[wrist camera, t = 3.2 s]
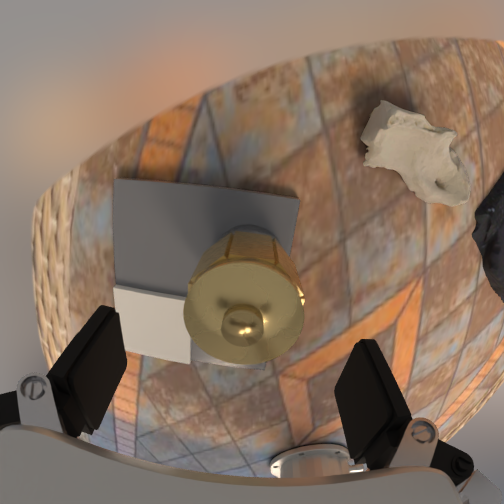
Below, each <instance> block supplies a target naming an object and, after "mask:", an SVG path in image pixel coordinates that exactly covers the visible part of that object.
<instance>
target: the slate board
mask: <svg viewBox="0 0 504 504" xmlns="http://www.w3.org/2000/svg"><path fill="white" fill-rule="evenodd" d="M299 204H300V199H299V198H297V197H291V196H285V195H278V194H272V193H265V192H258V191H251V190H243V189H236V188H228V187H220V186H211V185H203V184H193V183H183V182H173V181H162V180H149V179H136V178H116V179H114V193H113V240H114V263H115V278H116V285H121V286H127V287H132V288H137V289H142V290H148V291H153V292H159V293H164V294H170V295H176V296H182V297H187V295H188V283H189V281H190V279H191V277H192V275H193V273H194V271H195V269H196V267H197V265H198V263H199V261H200V259H201V257H202V255H203V253H204V252H205V251H206V250H207V249H209V248H210V247H211V246H213V245H214V244H215V243H216V242H217V241H218V239H219V238H220V237H221V236H222V235H223V234H224V233H225V232H226V231H228V230H229V229H231V228H234V227H236V226H240V225H256V226H259V227H262V228H265V229H267V230H268V231H270V232H271V233H272V234H273V235H275V236H276V238H277V239H278V240H279V242H280V243H281V245H282V248H283V249H284V251H285V252H286V253H287V255H288V256H289V257H290V252H291V247H292V241H293V236H294V231H295V226H296V220H297V215H298V210H299ZM191 360H192V361H198V362H204V363H210V364H217V365H224V366H232V367H240V368H248V369H257V370H265V366H266V362H263V363H259V364H252V365H240V364H232V363H228V362H224V361H221V360H219V359H216V358H214V357H212V356H210V355H209V354H207V353H206V352H204V351H203V350H202V349H201V348H199V347H198V346H197V344H196V343H195V342H194V341H193V340H192V338H191Z"/></svg>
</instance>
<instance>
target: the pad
mask: <svg viewBox="0 0 504 504" xmlns="http://www.w3.org/2000/svg"><path fill="white" fill-rule="evenodd" d="M113 291H114V301H115V309H116V312H118V313H119V316H120V323H121V329H122V335H123V341H124V347H125V351H129V352H133V353H137V354H142V355H146V356H150V357H155V358H159V359H164V360H169V361H174V362H179V363H185V364H190V362H191V337H190V335H189V333H188V331H187V329H186V326H185V323H184V317H183V309H184V303H185V299H186V297H182V296H176V295H170V294H164V293H159V292H153V291H148V290H142V289H137V288H132V287H127V286H121V285H115V286H114V287H113Z"/></svg>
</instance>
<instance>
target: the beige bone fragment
mask: <svg viewBox="0 0 504 504" xmlns="http://www.w3.org/2000/svg"><path fill="white" fill-rule="evenodd" d="M380 101H381V104H380V105H379V106H378V107H377V108H374V110H373V112H372V113H371V116H370V115H369V116H370V119H369V121H368V123H367V125H366V127H365V129H364V131H363V133H362V136H361V140H362V141H363V142H364V143H365V144H366V145H367V146H369V147H368V148H366V150H367V149H368V150H369V151H368V152H367V153H366V154H365V158H366V160H365V161H364V162H363V165H364V166H370V167H373V168H375V167H377V166H378V167H385V168H386V169H392V170H395V171H397V172H398V173H399V174H400V175H401V176H402V178H403V180H404V182H405V183H406V185H407V187H408V188H409V190H411V191H414V192H415V195H416V197H418V198H420V199H422V200H423V201H424V202H426V203H441V204H445V205H448V206H456V205H460V204H464V203H466V201H468V200H469V196H470V182H469V179H468V174H467V172H466V170H465V167H464V165H463V163H462V162H461V160H460V159H459V157H458V156H457V154H456V152H455V151H454V150H453V149H451V148H450V147H449V145H450V143H451V141H452V140H453V138H454V137H456V136H457V132H456V131H454V130H451V129H448V128H441V127H434V126H431V125H430V123H429V122H428V121H427V120H426V119H425V116H424V115H422V114H419V113H415V112H411V111H407V110H404V109H401V108H399V107H397V106H395V105H393V104H391V103H389V102H388V101H383V100H380Z"/></svg>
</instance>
